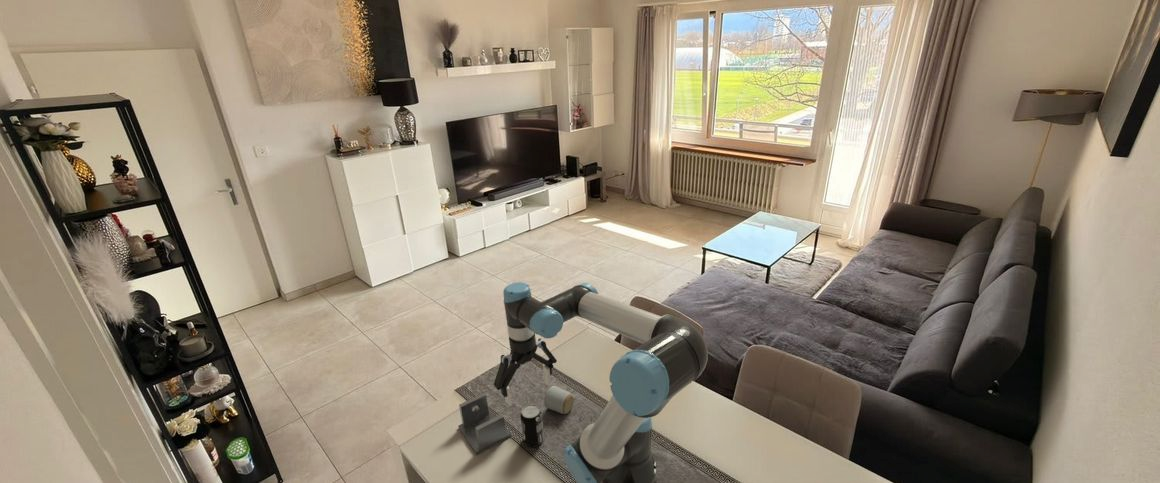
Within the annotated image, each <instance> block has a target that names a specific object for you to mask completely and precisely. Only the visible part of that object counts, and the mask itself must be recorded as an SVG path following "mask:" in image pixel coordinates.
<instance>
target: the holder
mask: <svg viewBox="0 0 1160 483" xmlns="http://www.w3.org/2000/svg"><path fill="white" fill-rule="evenodd" d="M458 407H459V413H460V418H461V424H459V425H458V426H457V428H458V430H459V431H460V432H461V434H462V435H463V437H464V438H465V440H466V442H467V443H468V444H469V446H470V447H471V448H472V450H473V452H474V453H475V455H476V456H477V455H479V454H481V453H483V452H485V451H486V450H489V449H490V448H491V447H493V446H495V445H497V444H499V443H501V442H503V441H505V440H507V439H508V438H510V437H512V433H511V432H510V431H509V430H508V429H507V427H506V425H505V424H506V423H505V417H504V415H503V414H502V413H500V414H498V415H497V414H496V413H494V411H493V410H492V409H489V405H488V398H487V394H486V393H485V392H483V393H480V394H478V395H476V396H475V397H472V398H470V399H468V400H466V401H464V402H461V403H460V404H458Z"/></svg>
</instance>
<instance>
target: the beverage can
mask: <svg viewBox="0 0 1160 483" xmlns="http://www.w3.org/2000/svg"><path fill="white" fill-rule="evenodd" d="M520 422H521V432H522V440H523V443H524V444H525V445H526V446H528V447H531V446H535V447H538V446H539V445H541V444H542V443H543V441H544V440H545V436H544V435H545V433H544V423H543V413H542V411H541V409H540V407H539V405H537V404H534V403H533V404H532V403H531V404H527V405H525V406H524V407H522V408H521V413H520ZM537 445H538V446H537Z"/></svg>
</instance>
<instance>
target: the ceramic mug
mask: <svg viewBox="0 0 1160 483" xmlns="http://www.w3.org/2000/svg"><path fill="white" fill-rule="evenodd" d="M574 400H575V396H574V394H572V393H571V392H570V391H567V390H565V389H562V388H561V387H558V386H556V385H551V386H549V388H548V389H547V391H546V392H545V396H544V400H543V405H544V407H545V408H546V409H549V410H551V411H554V412H556V413H559V414H562V415H567V414H568V413H569V412H570V411H571V410H572V407H573V405H574Z"/></svg>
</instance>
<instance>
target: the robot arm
mask: <svg viewBox="0 0 1160 483" xmlns="http://www.w3.org/2000/svg"><path fill="white" fill-rule="evenodd" d="M503 306H504V313H505V318H506V319H505V320H506V325H507V327H506V328H507V333H508V342H509V348H510V352H509V354H507V355H505V354H501V356H500V363H499V366H498V370H497V372H496V375H495V379H494V382H493V386H494V387H495V389H496V390H498V391H500V392H501V395H502V396H503V398H504V400H505V403H506V404H507V405H508V406H509V407H511V406H513V403H512V402H513V401H512V396H511V388H510V386H509V384H510V383H511V381H512V379H513V377H514V375H515V373H516V372H517V370H519V369H520V367H521V365H525V364H526V363H528V362H531V361H532V359H534V360H536V361H538V362H540V363H541V364H542V372H543V382H544V384H546V386H548V387H551V386H552V382H551V375H552V374H553V370H552V369H553V368H554V364H556V363H557V362H558V360H557V359H556V357H555V356H554V355H553V354H552V352H551V351H550V350H549V348H548V347H547V342H546V341H545V340H544V339H553V338H555V337H556V336H557V335H558V333H560V332H561V330H562V329H563V326H564V323H565V322H568V321H569V320H572V319H574V318H575V317H579V318H581V319H584V320H586V321H588V322H591V323H593V324H596V325H598V326H600V327H603V328H605V329H607V330H609V331H611V332H614V333H616V334H619V335H621V336H624V337H626V338H628V339H630V340H633V341H635V342H638V343H640V344H641V345H639V346H638V347H636V348H634V349H632V350H630V351H628V352H626V353H625V354H623V355H622V356H621V357H620V358H619V359H617V360H616V361H615V362H614V364H612V367H611V369H610V372H609V382H610V383H611V385H610V386H609V387H610V391H611V393H612V395H611V397H610V399H609V400H608V402H607V404H606V405H605V407H604V408H603V409H602V412H601V413H600V414H599V416H598V418H597V420H596V421H595V422H593V423H592V422H591V423H590V424H588V425H587V426H585V428H584V429H583V431H582V432H581V434H580V435H579V437H577V439H576V440H575V441H574V442H572V443H571V444H568V446H567V447H566V448H564V450H563V454H562V455H563V459H564V460H563V461H564V464H565V465H566V467H567V469H568V471H569V473H570V474H571V475H572V478H573V479H574V480H575V481H576V483H602V482H603V481H604V480H606V482H607V483H655V482H656V480H657V476H658V475H657V474H658V473H657V472H658V468H657V462H656V460H655V458H654V455H653V452H652V434H653V433H652V431H653V430H652V429H653V421H652V418H654V417H656V416H657V415H659V414H660V413H661V412H662V410H663V409H664V408H665V407H666V406H667V404H668V403H669V402H670V401H671V400H672V399H673V398H674V397H675V396H676V395H677V394H678V393H680V392H681V391H682V390H683V389H684V388H686V387H687V386H688V385H690V384H691V383H692V382H694V381H695V380H697V379H698V378H699V377H700V376H701V375H702V373H703V372H704V371H705V369H706V366H707V363H708V358H709V350H708V346H707V342H706V340H705V339H704V336H703V335H702V333H701V332H700V331H699V330H698V329H697V328H696V327H695V326H694V325H693V324H691V323H690V322H688V321H686V320H684V319H683V318H680V317H677V316H675V315H672V314H664V315H662V316H661V315H658V314H655V313H653V312H650V311H647V310H644V309H641V308H638V307H636V306H633V305H630V304H627V303H624V302H621V301H619V300H616V299H613V298H609V297H607V296H604V295H603V294H602V295H601V294H599V293H598V290H597V289H596V287H595V286H593V284H591V283H589V282H583V283H580V284H577V285H574V286H572V288H569V289H567V290H565V291H563V292H561V293H558V294H556V295H554V296H551V297H549V298H547V299H545V300H542V301H540V300H538V299H537V298H535V297H533V296H532V290H531V287H530V285H529V284H528V283H526V282H522V281H521V282H520V281H519V282H518V281H517V282H513V283H510V284H508V285H506V286H505V287H504V289H503ZM536 335H537V336H540V337H542V338H538V339H537V338H536ZM543 338H544V339H543ZM536 339H537V340H536ZM538 348H539V349H541V350H542V352H543V353H544V354H545V355H546V357H547V358H548V359H546V358H544V357H543V356H541V355H539V354H538V353H536V352H537V349H538Z"/></svg>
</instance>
